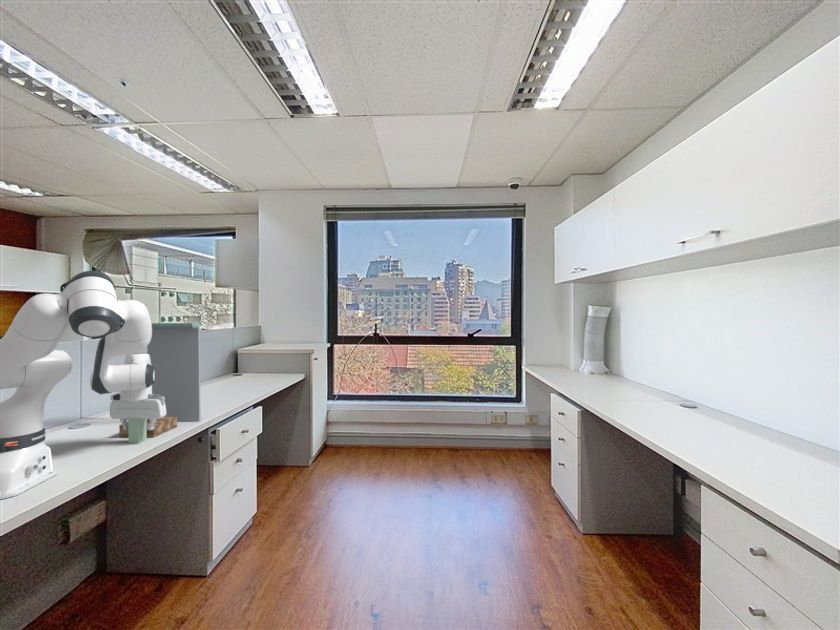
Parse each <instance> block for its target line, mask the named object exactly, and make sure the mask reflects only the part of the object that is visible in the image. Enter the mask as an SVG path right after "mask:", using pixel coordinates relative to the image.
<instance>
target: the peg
mask: <svg viewBox="0 0 840 630" xmlns="http://www.w3.org/2000/svg"><path fill="white" fill-rule="evenodd" d="M127 422H128V436H129V438H128V444H141V443H143V442H145V441H147V431H146V419H139V417H128V420H127Z"/></svg>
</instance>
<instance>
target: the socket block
mask: <svg viewBox="0 0 840 630" xmlns="http://www.w3.org/2000/svg"><path fill="white" fill-rule="evenodd" d="M150 423H151V421H150V420H149V419H146V431H147V438H148V439H149V438H155V437H158V436H161V435H163V434H164V433H165V434H166V433H167V432H169V431H171V430H174V429H175V428H177V427H178V422H177V416H165V417H163V418H160V419H157V421H156V422H155V424H154V429H153V430H147V426H148V425H150ZM118 429H119V431H118V432H119V433H118V434H119V436H118V437H119V438H121V439H123V438H127V439H129V436H128V430H123V425H122V423H121V424H119V428H118Z"/></svg>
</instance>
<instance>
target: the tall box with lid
mask: <svg viewBox="0 0 840 630" xmlns="http://www.w3.org/2000/svg"><path fill="white" fill-rule="evenodd" d="M151 323H152V337H151V341H150V343H149V344H148V345H147V346H146V350H147V351H146V353H147V354H149V355H150V359H151V366H153V367H154V368H155V382H154V383H153V384H152V394H156V395H157V394H161V395H162V396H163V397H164V398H165V405H166V415H165V416H177V423H178V422H179V423H181V422H182V423H183V422H184V423H185V422H187V423H188V422H189V423H191V422H192V423H194V422H195V423H197V422H198V423H200V422H201V418H202V417H201V324H200V322H151Z"/></svg>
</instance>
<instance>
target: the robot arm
mask: <svg viewBox="0 0 840 630" xmlns="http://www.w3.org/2000/svg"><path fill="white" fill-rule="evenodd" d="M59 289H60V290H59V291H60V293H55V294H54V293H46V292H45V293H38V294H36V295H33V296H32V297H30V298H29V299H28V300H27V301H26V302H25V303H24V304H23V305H22V306H21V308H20V309H19V310H18V312H17V313H16V314H15V316H14V318H13V320H12V322H11V324H10V325H9V327H8V329H7V330H6V332H5V333H4V335H3V337H1V338H0V390H6V389H13V388H16V390H15V392H14V393H13V394H12V395H11V396H10V397H9V398H7V399H5V400H3V401H1V402H0V500H5V499H8V498H12V497H15V496H18V495H20V494H21V493H23V492H25V491H27V490H29V489H31V488H33V487H35V486H37V485H39V484H41V483H43V482H44V481H47V480H49V479H51V478H52V477H54V476H56V475H58V474H59V472H58V470H57V469H53V459H52V458H53V457H52V451H51V448H50V446H48V445H47V444H46V443H45V440H46V433H47V432H46V428H45V427H44V414H45V413H44V412H45V405H46V400H47V399H48V396H49V395H50V393H51V391H52V390H54V388H55V387H56V386H57V384H60V382H62V381H63V380H64V379H66V378H67V377H68V376H69V374H70V373H72V369H73V360H72V358H71V356H70V355H69V354H68V352H66V351H65V350H61V349H57V347H58V345H59V343H60V341H61V340H62V338H63V336H64V334H65V333H66V331H67V329H68V327H69V326H70V328H71V329H72V331H73V332H74V334H76V335H78V336H81V337H86V338H95V339H96V338H100V339H99V341H98V343H97V348H96V352H95V356H94V357H95V358H94V363H93V370H92V372H91V374H90V378H89V386H90V388H91V390H92V391H93V392H95V393H97V394H98V395H106V394H111V393H113V394H111V395H110V400H111V402H110V404H109V416H110V418H111V419H118V420H119V421H120V423H121V424H122V425H123V430H128V417H139V419H149V420H150V421H151V423H150V425H148V426H147V430H153V429H154V424H155V422H156V421H157V419H160V418H163V417H165V415H166V405H165V398H164V397H163V396H162V395H161V394H157V395H156V394H152V384H153V383H154V382H155V368H154V367H153V366H151V359H150V355H149V354H147V352H141V351H142V350H145V348H147V345H148V344H149V343H150V341H151V337H152V323H153V322H152V319H151V316H150V312H149V310H148V307H147V306H146V305H145V304H144V303H143V302H141V301H138V300H135V299H124V300H120V299H118V297H117V292H116V285H115V283H114V281H113V280H112V279H111V277H109V275H107V274H106V273H104V272H101V271H98V270H86V271H82V272H79V273H77V274H76V275H74V276H73V277H71V278H70V279H69V280H68V281H66V282H64V283H62V284H61V286H60V287H59ZM122 356H125V358H124V364H117V365H116V364H112V365H111V364H110V362H111V361H112V360H113V359H115V358H118V357H122Z"/></svg>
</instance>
